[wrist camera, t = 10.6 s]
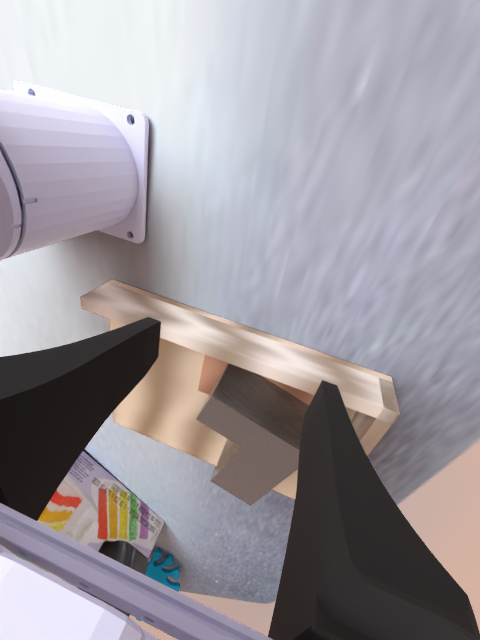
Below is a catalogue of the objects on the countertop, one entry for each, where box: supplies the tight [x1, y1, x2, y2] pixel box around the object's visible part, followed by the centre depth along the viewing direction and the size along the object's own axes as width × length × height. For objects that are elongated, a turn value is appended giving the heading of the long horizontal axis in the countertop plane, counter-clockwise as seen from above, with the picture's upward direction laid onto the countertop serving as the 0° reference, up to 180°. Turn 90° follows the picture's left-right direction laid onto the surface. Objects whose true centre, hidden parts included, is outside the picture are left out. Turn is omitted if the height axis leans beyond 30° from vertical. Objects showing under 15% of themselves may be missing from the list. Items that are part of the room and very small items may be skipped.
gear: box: [136, 548, 180, 621], centre depth 49 cm, size 11×6×10 cm
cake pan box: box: [13, 451, 165, 617], centre depth 35 cm, size 19×5×18 cm, turn 39°
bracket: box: [196, 363, 309, 506], centre depth 24 cm, size 9×8×4 cm
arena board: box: [80, 279, 400, 499], centre depth 26 cm, size 23×18×4 cm
